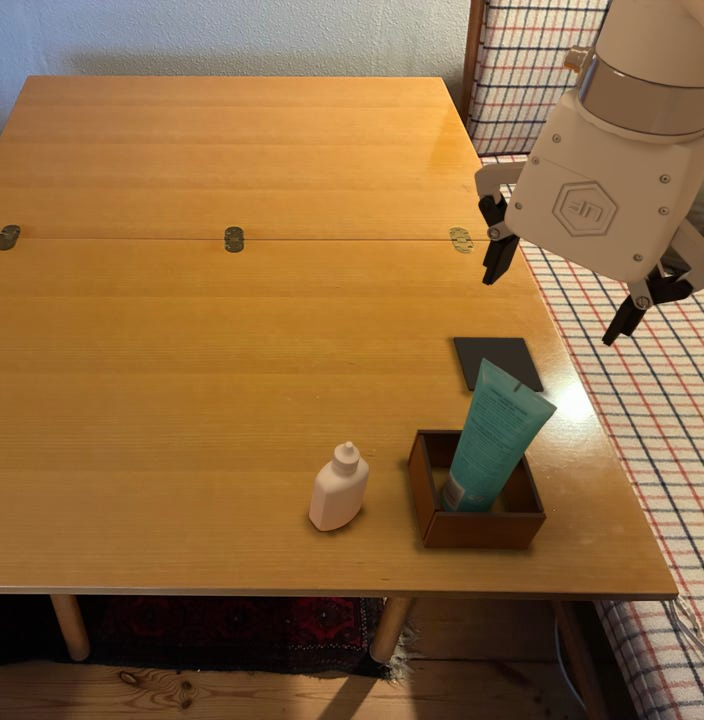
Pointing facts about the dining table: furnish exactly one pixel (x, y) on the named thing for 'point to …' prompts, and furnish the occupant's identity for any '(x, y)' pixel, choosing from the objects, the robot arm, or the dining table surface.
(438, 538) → the tube holder
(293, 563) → the dining table surface
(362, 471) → the eye dropper bottle
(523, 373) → the mat
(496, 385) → the tube
